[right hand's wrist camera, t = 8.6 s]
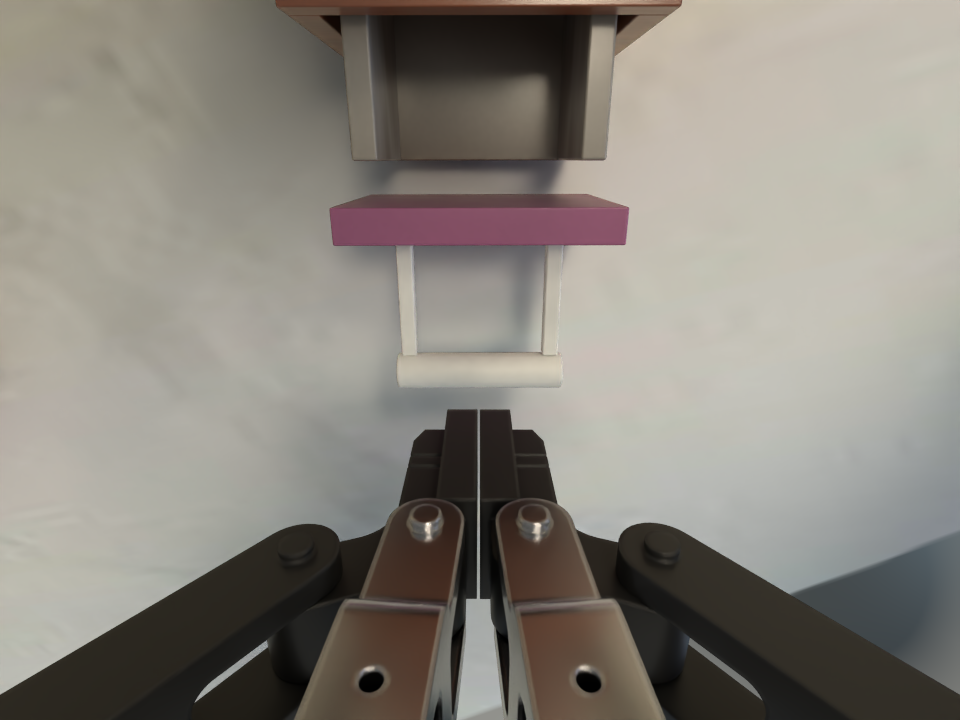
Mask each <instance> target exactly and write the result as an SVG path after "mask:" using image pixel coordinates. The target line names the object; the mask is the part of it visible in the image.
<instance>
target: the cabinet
mask: <svg viewBox="0 0 960 720" xmlns="http://www.w3.org/2000/svg"><path fill="white" fill-rule="evenodd" d="M275 1H276V6H277V7H278V8H279V9H280V10H282V11H283V12H284V13H286V14H287V15H288V16H290V17H291V18H292V19H293V20H295V21H296V22H297V23H299V24H300V25H301V26H303V27H304V28H305V29H307V30H308V31H309V32H311V33H312V34H313V35H315V36H316V37H317V38H319V39H320V40H321V41H323V42H324V43H325V44H327V45H328V46H329V47H331V48H332V49H333V50H335V51H336V52H337V53H339V54H340V55H341V56H343V46H342V34H341V22H340V15H618V17H617V29H616V42H615V54H614V56H616V55H617V54H618V53H620V52H621V51H622V50H624V49H625V48H626V47H628V46H629V45H630V44H631V43H633V42H634V41H635V40H637V39H638V38H639V37H641V36H642V35H643V34H645V33H646V32H647V31H649V30H650V29H651V28H653V27H654V26H655V25H656V24H658V23H659V22H660V21H662V20H663V19H664V18H666V17H667V16H668V15H669V14H671V13H672V12H674V11H675V10H676V9H678V8H679V7H680V6H681V5H682V0H275Z"/></svg>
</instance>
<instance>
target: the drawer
mask: <svg viewBox="0 0 960 720" xmlns="http://www.w3.org/2000/svg"><path fill="white" fill-rule="evenodd" d="M617 17H618V15H340V22H341V34H342V46H343V57H344V69H345V81H346V93H347V105H348V116H349V128H350V140H351V152H352V159H353V160H354V161H396V160H605V159H606V154H607V142H608V129H609V117H610V104H611V92H612V79H613V67H614V54H615V42H616V29H617ZM628 215H629V207H626V206H623V205H620V204H616V203H613V202H610V201H607V200H604V199H601V198H598V197H595V196H591V195H588V194H394V195H369V196H365V197H362V198H359V199H356V200H353V201H350V202H347V203H344V204H341V205H338V206H335V207H332V208H330V219H331V229H332V238H333V245H334V246H396V262H397V278H398V295H399V312H400V328H401V345H402V353H399V355H398V358H397V383H398V386H399V387H400V388H552V387H560V386H561V384H562V379H563V362H562V356H561V354H560V353H559V352H557V350H558V332H559V314H560V296H561V278H562V260H563V245H625V244H626V236H627V225H628ZM434 245H545V269H544V292H543V315H542V338H541V351H542V352H464V353H418V333H417V312H416V291H415V271H414V250H413V246H434Z"/></svg>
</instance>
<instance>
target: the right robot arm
mask: <svg viewBox="0 0 960 720" xmlns="http://www.w3.org/2000/svg"><path fill="white" fill-rule="evenodd" d="M477 483H478V460H477V409H448V410H447V417H446V425H445V430H424V431H423V432H422V433H421V434H420V435H419V436H418V437H417V438H416V439H415V440H414V442H413V447H412V451H411V457H410V460H409V464H408V468H407V473H406V477H405V481H404V486H403V490H402V494H401V499H400V503H399V507H398V508H396V509H395V510H394V511H393V512H392V513H391V515H390V516H389V518H388V520H387V523H386V526H384V527H383V528H381V529H380V530H378V531H376V532H374V533H371V534H369V535H366V536H363V537H359V538H355V539H351V540H346V541H342V542H339V538H338V536H337V535H336V533H335V532H334V531H332V530H331V529H329V528H328V527H325V526H322V525H317V524H301V525H295V526H291V527H288V528H285V529H283V530H280V531H278V532H276V533H274V534H272V535H271V536H269V537H267V538H266V539H264V540H262V541H261V542H259V543H257V544H255V545H254V546H252V547H250V548H249V549H247V550H245V551H244V552H242V553H240V554H238V555H237V556H235V557H233V558H232V559H230V560H228V561H227V562H225V563H223V564H222V565H220V566H218V567H216V568H215V569H213V570H211V571H210V572H208V573H206V574H205V575H203V576H201V577H199V578H198V579H196V580H194V581H193V582H191V583H189V584H188V585H186V586H184V587H182V588H181V589H179V590H177V591H176V592H174V593H172V594H171V595H169V596H167V597H165V598H164V599H162V600H160V601H159V602H157V603H155V604H154V605H152V606H150V607H148V608H147V609H145V610H143V611H142V612H140V613H138V614H137V615H135V616H133V617H131V618H130V619H128V620H126V621H125V622H123V623H121V624H120V625H118V626H116V627H115V628H113V629H111V630H109V631H108V632H106V633H104V634H103V635H101V636H99V637H98V638H96V639H94V640H92V641H91V642H89V643H87V644H86V645H84V646H82V647H81V648H79V649H77V650H75V651H74V652H72V653H70V654H69V655H67V656H65V657H64V658H62V659H60V660H58V661H57V662H55V663H53V664H52V665H50V666H48V667H47V668H45V669H43V670H41V671H40V672H38V673H36V674H35V675H33V676H31V677H30V678H28V679H26V680H24V681H23V682H21V683H19V684H18V685H16V686H14V687H13V688H11V689H9V690H8V691H6V692H4V693H2V694H1V695H0V720H456V718H457V709H458V700H459V692H460V683H461V675H462V666H463V657H464V649H465V640H466V599H477ZM480 599H490V602H491V619H492V622H493V625H494V640H495V649H496V657H497V666H498V675H499V683H500V692H501V700H502V709H503V718H504V720H960V695H959V694H958V693H956V692H954V691H952V690H951V689H949V688H947V687H946V686H944V685H942V684H941V683H939V682H937V681H935V680H934V679H932V678H930V677H929V676H927V675H925V674H924V673H922V672H920V671H918V670H917V669H915V668H913V667H912V666H910V665H908V664H907V663H905V662H903V661H902V660H900V659H898V658H896V657H895V656H893V655H891V654H890V653H888V652H886V651H884V650H883V649H881V648H879V647H878V646H876V645H874V644H873V643H871V642H869V641H868V640H866V639H864V638H862V637H861V636H859V635H857V634H856V633H854V632H852V631H851V630H849V629H847V628H845V627H844V626H842V625H840V624H839V623H837V622H835V621H834V620H832V619H830V618H828V617H827V616H825V615H823V614H822V613H820V612H818V611H817V610H815V609H813V608H812V607H810V606H808V605H806V604H805V603H803V602H801V601H800V600H798V599H796V598H795V597H793V596H791V595H789V594H788V593H786V592H784V591H783V590H781V589H779V588H778V587H776V586H774V585H772V584H771V583H769V582H767V581H766V580H764V579H762V578H761V577H759V576H757V575H755V574H754V573H752V572H750V571H749V570H747V569H745V568H744V567H742V566H740V565H738V564H737V563H735V562H733V561H732V560H730V559H728V558H727V557H725V556H723V555H721V554H720V553H718V552H716V551H715V550H713V549H711V548H710V547H708V546H706V545H705V544H703V543H701V542H699V541H698V540H696V539H694V538H693V537H691V536H689V535H688V534H686V533H684V532H682V531H680V530H678V529H676V528H673V527H671V526H667V525H663V524H658V523H641V524H636V525H633V526H630V527H628V528H627V529H626V530H624V531H623V532H622V534H621V535H620V538H619V542H614V541H609V540H605V539H601V538H596V537H593V536H589V535H587V534H584V533H582V532H580V531H578V530H576V529H575V526H574V523H573V520H572V518H571V516H570V515H569V513H568V512H567V511H566V510H565V509H564V508H562V507H561V506H559V505H558V504H557V500H556V495H555V491H554V486H553V482H552V477H551V473H550V468H549V464H548V459H547V457H546V450H545V446H544V441H543V440H542V439H541V438H540V437H539V436H538V435H537V434H536V433H535V432H534V431H533V430H512V423H511V415H510V410H480ZM690 638H691V639H693V640H694V641H695V642H697V643H698V644H699V645H701V646H702V647H703V648H705V649H706V650H707V651H709V652H710V653H712V654H713V655H714V656H716V657H717V658H718V659H720V660H721V661H722V662H724V663H725V664H726V665H728V666H729V667H730V668H732V669H733V670H734V671H736V672H737V673H738V674H740V675H741V676H742V677H744V678H745V679H746V680H747V681H748V682H749V683H750V684H751V685H752V686H753V687H754V688H755V689H756V690H757V692H758V693H759V695H760V696H761V698H762V700H763V701H762V700H761V699H760V698H758V697H757V696H756V695H754V694H753V693H752V692H750V691H749V690H748V689H746V688H745V687H744V686H742V685H741V684H740V683H739V682H737V681H736V680H735V679H733V678H732V677H731V676H729V675H728V674H727V673H725V672H724V671H723V670H721V669H720V668H719V667H717V666H716V665H715V664H713V663H712V662H711V661H709V660H708V659H707V658H706V657H704V656H703V655H702V654H700V653H699V652H698V651H696V650H695V649H694V648H692V647H691V646H690V645H688V643H689V639H690ZM266 640H267V643H268V648H266V649H265V650H264V651H262V652H261V653H260V654H258V655H257V656H256V657H254V658H253V659H252V660H250V661H249V662H248V663H247V664H245V665H244V666H243V667H241V668H240V669H239V670H237V671H236V672H235V673H233V674H232V675H231V676H229V677H228V678H227V679H225V680H224V681H223V682H221V683H220V684H219V685H218V686H216V687H215V688H214V689H212V690H211V691H210V692H208V693H207V694H206V695H204V696H203V697H202V698H200V699H199V700H198V701H196V702H195V700H196V699H197V697H198V696H199V694H200V693H201V691H202V690H203V689H204V688H205V687H206V686H207V685H208V684H209V683H210V682H211V681H212V680H214V679H215V678H216V677H218V676H219V675H220V674H222V673H223V672H224V671H226V670H227V669H228V668H230V667H231V666H232V665H234V664H235V663H236V662H238V661H239V660H240V659H242V658H243V657H244V656H246V655H247V654H248V653H250V652H251V651H253V650H254V649H255V648H257V647H258V646H259V645H261V644H262V643H263V642H265V641H266ZM194 702H195V703H194Z"/></svg>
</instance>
